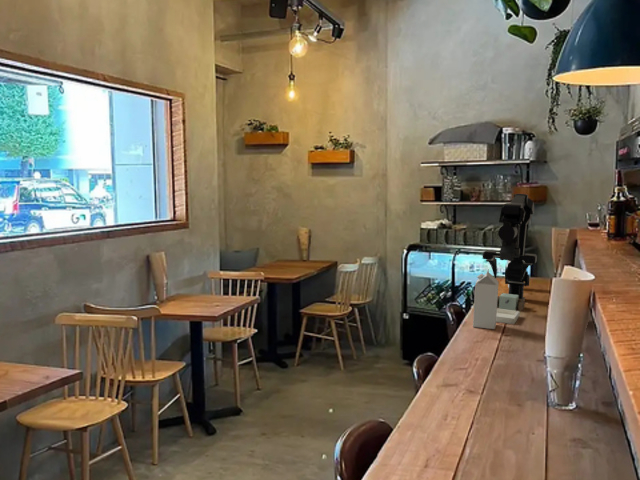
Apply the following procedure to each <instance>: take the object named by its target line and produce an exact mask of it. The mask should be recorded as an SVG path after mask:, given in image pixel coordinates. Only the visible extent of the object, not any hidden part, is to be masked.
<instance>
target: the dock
mask: <svg viewBox="0 0 640 480" xmlns="http://www.w3.org/2000/svg"><path fill="white" fill-rule="evenodd" d="M499 299H500V295H498V299H497V308H499ZM525 299H526V298H525ZM525 299H518V308H517V311H520V312H522V311H523V310H524V309H525V305H526V303H525V302H526V301H525Z"/></svg>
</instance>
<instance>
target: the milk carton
mask: <svg viewBox="0 0 640 480" xmlns="http://www.w3.org/2000/svg"><path fill="white" fill-rule="evenodd" d="M489 270H490V268H488V269H487V271H486V273H485V274H483V273H480V274H479V275H477V276H476V278H477V280H476V282H475V286H474V299H473V301H474V302H473V303H474V304H473V317H472V318H473V319H472V328H479V329H480V328H482V329H488V330H495V329H496V325H497V322H496V315H497V308H498V307H497V299H498V296H499V280H498V279H497V278H495V277H494V275H492V274H491V272H489Z"/></svg>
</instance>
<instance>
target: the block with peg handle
mask: <svg viewBox="0 0 640 480" xmlns="http://www.w3.org/2000/svg"><path fill="white" fill-rule="evenodd" d="M518 296H519V295H514V294H509V293H505V292H504V293H501V294H500V295H499V297H500V299H499V306H498V309H506V310H514V311H517V310H518V308H519V307H518Z"/></svg>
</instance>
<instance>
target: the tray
mask: <svg viewBox="0 0 640 480" xmlns="http://www.w3.org/2000/svg"><path fill="white" fill-rule="evenodd" d="M520 313H521V311H519V310H515V311H514V310H506V309H499V307H497V315H496V323H501V324H506V325H507V324H508V325H515V323H516V322H517V321H518V320H519V318H520Z"/></svg>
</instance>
